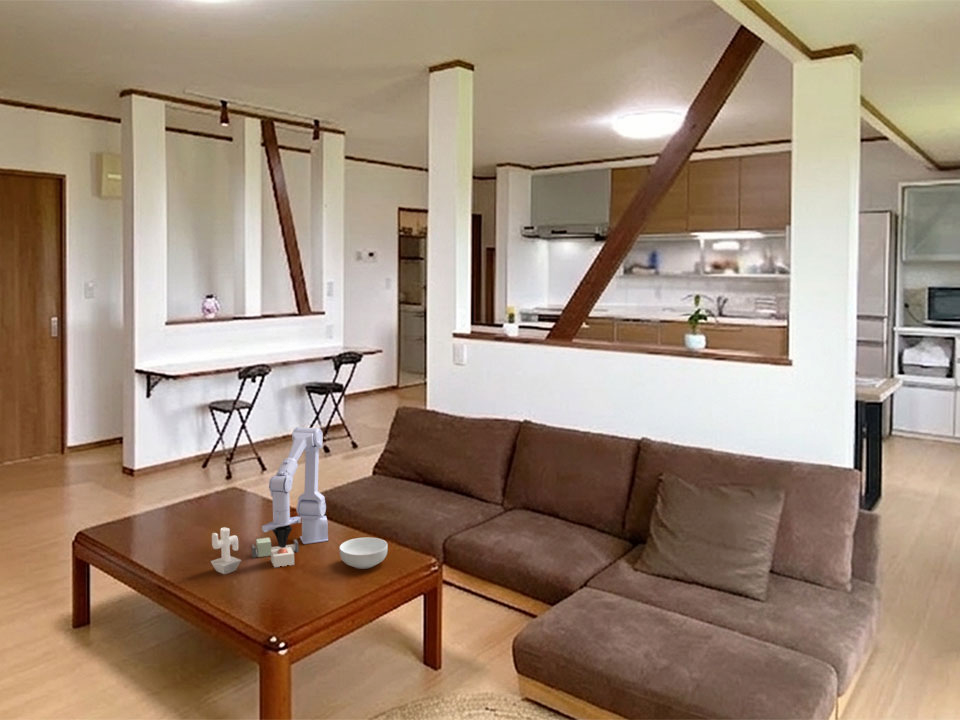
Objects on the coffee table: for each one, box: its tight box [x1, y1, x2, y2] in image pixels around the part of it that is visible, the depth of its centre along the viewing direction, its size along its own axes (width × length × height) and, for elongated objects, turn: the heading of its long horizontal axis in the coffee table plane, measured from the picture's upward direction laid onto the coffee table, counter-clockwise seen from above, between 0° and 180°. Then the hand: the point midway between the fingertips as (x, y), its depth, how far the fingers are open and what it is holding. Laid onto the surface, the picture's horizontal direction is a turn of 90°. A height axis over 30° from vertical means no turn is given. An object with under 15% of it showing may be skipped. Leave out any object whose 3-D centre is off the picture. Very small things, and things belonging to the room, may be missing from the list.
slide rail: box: [251, 538, 299, 559], centre depth 283 cm, size 16×4×4 cm, turn 113°
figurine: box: [210, 526, 242, 575], centre depth 265 cm, size 7×9×15 cm
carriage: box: [255, 537, 272, 558], centre depth 281 cm, size 5×5×5 cm
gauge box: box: [270, 547, 295, 568], centre depth 274 cm, size 7×7×4 cm
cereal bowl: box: [339, 536, 389, 570], centre depth 272 cm, size 17×17×7 cm
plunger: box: [278, 548, 287, 554], centre depth 274 cm, size 3×3×4 cm
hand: (282, 546), depth 273 cm, fingers closed
